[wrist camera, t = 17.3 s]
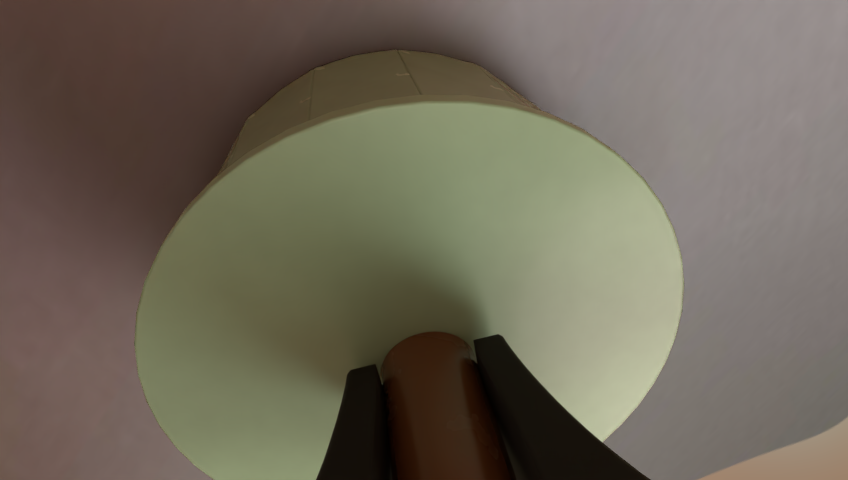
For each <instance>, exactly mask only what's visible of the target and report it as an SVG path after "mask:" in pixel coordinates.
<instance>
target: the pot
mask: <svg viewBox="0 0 848 480" xmlns="http://www.w3.org/2000/svg"><path fill="white" fill-rule="evenodd" d="M414 95H469V96H476V97H483V98H490V99H497V100H504V101H510V102H513V103H517V104H520V105H523V106H527V107H530V108H534V109H537V110H540V109H539V108H538V107H537V106H536V105H534V104H533V103H532V102H530V101H529V100H527V99H526V98H525V97H523V96H522V95H520V94H519V93H517V92H516V91H515V90H513V89H512V88H510V87H509V86H508V85H507V84H506V83H504V82H503V81H501V80H500V79H498V78H496V77H495V76H494V75H492V74H491V73H489V72H488V71H486V70H485V69H484V68H482V67H481V66H479V65H476V64H474V63H469V62H464V61H461V60H458V59H454V58H450V57H446V56H443V55H439V54H434V53H426V52H417V51H404V50H395V49H394V50H390V51H380V52H373V53H367V54H361V55H355V56H351V57H348V58H345V59H342V60H338V61H335V62H332V63H329V64H326V65H324V66H321V67H317V68H315V69H314V70H311V71H309V72H308V73H307V74H305V75H303V76H301V77H300V78H298V79H297V80H295V81H294V82H292V83H290V84H289V85H287V86H286V87H284V88H283V89H281V90H280V91H279V92H278V93H276V94H275V95H274V96H273V97H272V98H271V99H270V100H268V101H267V102H266V103H265V104H264V105H263V106H262V107H261V108H260V109H259V110H257V111H256V112H255V113H253V114H252V115H251V116H249V118H248V119H247V120H246V121H245V123H244V125H243V127H242V129H241V131H240V133H239V135H238V137H237V139H236V141H235V142H234V144H233V146H232V148H231V150H230V152H229V154H228V156H227V158H226V160H225V162H224V164H223V165H222V167H221V169H220V171H219V173H218V175H219V174H220V173H222V172H223V171H224V170H225V169H227V168H228V167H229V166H231V165H232V164H233V163H234V162H236V161H237V160H238V159H240V158H241V157H242V156H243V155H245V154H246V153H247V152H249V151H250V150H252V149H254V148H256V147H257V146H259V145H261V144H263V143H264V142H266V141H268V140H270V139H271V138H273V137H275V136H277V135H278V134H280V133H282V132H284V131H285V130H287V129H290V128H292V127H294V126H297V125H299V124H302V123H304V122H307V121H309V120H312V119H314V118H317V117H319V116H322V115H324V114H326V113H329V112H332V111H336V110H340V109H344V108H348V107H351V106H355V105H359V104H363V103H367V102H371V101H375V100H382V99H390V98H398V97H406V96H414ZM540 111H541V110H540ZM218 175H217V176H218Z"/></svg>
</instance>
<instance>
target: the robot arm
mask: <svg viewBox="0 0 848 480" xmlns="http://www.w3.org/2000/svg"><path fill="white" fill-rule="evenodd" d="M473 341H474V347H475V353H476V359H477V364H478V367H479V370H480V373H481V376H482V379H483V382H484V385H485V388H486V391H487V394H488V397H489V399H490V402H491V405H492V408H493V411H494V414H495V416H496V419H497V422H498V425H499V428H500V431H501V434H502V437H503V440H504V443H505V446H506V449H507V452H508V455H509V458H510V461H511V464H512V467H513V470H514V473H515V476H516V479H517V480H650V479H649V478H647V477H646V476H644V475H643V474H642V473H640V472H639V471H638V470H636V469H635V468H634V467H632V466H631V465H630V464H629V463H627V462H626V461H625V460H623V459H622V458H621V457H619V456H618V455H617V454H616V453H615V452H613V451H612V450H611V449H610V448H608V447H607V446H606V445H605V444H604V443H602V442H601V441H600V440H599V439H598V438H596V437H595V436H594V435H593V434H592V433H591V432H590V431H588V430H587V429H586V428H585V427H584V426H583V425H582V424H581V423H580V422H579V421H578V420H576V419H575V418H574V417H573V416H572V415H571V414H570V413H569V412H568V411H567V410H566V409H565V408H564V407H563V406H562V405H561V404H560V403H559V402H558V401H557V400H556V399H555V398H554V397H553V396H552V395H551V394H550V393H549V392H548V391H547V390H546V389H545V388H544V387H543V385H542V384H541V383H540V382H539V381H538V380H537V379H536V378H535V377H534V376H533V375H532V373H531V372H530V371H529V370H528V369H527V368H526V366H525V365H524V364H523V363H522V362H521V360H520V359H519V358H518V357H517V355H516V354H515V353H514V351H513V350H512V349H511V347H510V346H509V345H508V343H507V342H506V340H505V339H504V337H503V336H501V335H499V334H496V335H492V336H488V337H484V338H480V339H476V340H473ZM316 480H392V472H391V463H390V454H389V446H388V436H387V424H386V414H385V405H384V396H383V387H382V382H381V379H380V376H379V373H378V370H377V367H376V364H373V365H369V366H364V367H360V368H356V369H352V370H350V371H349V373H348V374H347V378H346V384H345V388H344V393H343V397H342V402H341V405H340V409H339V413H338V416H337V420H336V424H335V427H334V430H333V433H332V436H331V439H330V442H329V446H328V449H327V452H326V455H325V457H324V460H323V463H322V465H321V468H320V471H319V473H318V476H317V479H316Z"/></svg>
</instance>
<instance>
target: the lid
mask: <svg viewBox="0 0 848 480" xmlns="http://www.w3.org/2000/svg"><path fill="white" fill-rule="evenodd" d="M683 291H684V278H683V267H682V257H681V253H680V249H679V246H678V242H677V238H676V235H675V231H674V228H673V226H672V224H671V222H670V220H669V218H668V216H667V213H666V211H665V209H664V207H663V205H662V203H661V202H660V200H659V199H658V198H657V196H656V195H655V193H654V192H653V191H652V189H651V188H650V187H649V185H648V184H647V182H646V181H645V180H644V178H643V177H642V176H641V175H640V174H639V173H638V172H637V171H635V170H634V169H633V168H632V167H631V166H630V165H629V164H628V163H627V162H626V161H625V160H624V159H623V158H622V157H621V156H620V155H619V154H617V153H616V152H615V151H614V150H612V149H611V148H610V147H608V146H607V145H605V144H604V143H602V142H601V141H599V140H598V139H596V138H595V137H594V136H592V135H591V134H589V133H588V132H586V131H585V130H583V129H582V128H579V127H577V126H575V125H573V124H571V123H569V122H567V121H564V120H562V119H560V118H558V117H556V116H554V115H552V114H549V113H547V112H544V111H540V110H537V109H534V108H530V107H527V106H523V105H520V104H517V103H513V102H510V101H504V100H497V99H490V98H483V97H476V96H469V95H414V96H406V97H398V98H390V99H382V100H375V101H371V102H367V103H363V104H359V105H355V106H351V107H348V108H344V109H340V110H336V111H332V112H329V113H326V114H324V115H322V116H319V117H317V118H314V119H312V120H309V121H307V122H304V123H302V124H299V125H297V126H294V127H292V128H290V129H287V130H285V131H284V132H282V133H280V134H278V135H277V136H275V137H273V138H271V139H270V140H268V141H266V142H264V143H263V144H261V145H259V146H257V147H256V148H254V149H252V150H250V151H249V152H247V153H246V154H245V155H243V156H242V157H241V158H240V159H238V160H237V161H236V162H234V163H233V164H232V165H231V166H229V167H228V168H227V169H225V170H224V171H223V172H222V173H220V174H219V175H218V176H216V177H215V178H214V179H213V180H212V181H211V182H210V183H209V184H208V185H207V186H206V187H205V188H204V189H203V190H202V192H201V193H200V194H199V195H198V196H197V197H196V198H195V199H194V200H193V201H192V202H191V203H190V204H189V205H188V206H187V207H186V209H185V210H184V212H183V213H182V214H181V216H180V217H179V219H178V220H177V222H176V223H175V225H174V226H173V227H172V229H171V230H170V232H169V233H168V235H167V236H166V238H165V239H164V241H163V243H162V245H161V247H160V249H159V251H158V253H157V255H156V258H155V260H154V262H153V264H152V266H151V268H150V270H149V273H148V275H147V277H146V279H145V282H144V286H143V289H142V293H141V297H140V301H139V305H138V309H137V312H136V326H135V341H134V346H135V354H136V362H137V370H138V376H139V379H140V382H141V385H142V388H143V391H144V394H145V398H146V401H147V403H148V405H149V407H150V409H151V410H152V412H153V414H154V416H155V418H156V420H157V422H158V424H159V426H160V427H161V428H162V430H163V431H164V432H165V434H166V435H167V436H168V437H169V439H170V440H171V441H172V443H173V444H174V445H175V447H176V448H177V449H178V450H179V451H180V452H181V453H182V454H183V455H184V456H185V457H186V458H187V459H189V460H190V461H191V462H192V463H193V464H194V465H195V466H196V467H197V468H198V469H200V470H201V471H203V472H204V473H205V474H207V475H208V476H209V477H211V478H212V479H214V480H316V479H317V476H318V473H319V471H320V468H321V465H322V463H323V460H324V457H325V455H326V452H327V449H328V446H329V442H330V439H331V436H332V433H333V430H334V427H335V424H336V420H337V416H338V413H339V409H340V405H341V402H342V397H343V393H344V388H345V384H346V378H347V374H348V373H349V371H350V370H352V369H356V368H360V367H364V366H369V365H373V364H376V367H377V370H378V373H379V376H380V379H381V382H382V387H383V396H384V405H385V414H386V424H387V436H388V446H389V454H390V463H391V472H392V480H517V479H516V476H515V473H514V470H513V467H512V464H511V461H510V458H509V455H508V452H507V449H506V446H505V443H504V440H503V437H502V434H501V431H500V428H499V425H498V422H497V419H496V416H495V414H494V411H493V408H492V405H491V402H490V399H489V397H488V394H487V391H486V388H485V385H484V382H483V379H482V376H481V373H480V370H479V367H478V364H477V359H476V353H475V347H474V341H473V340H476V339H480V338H484V337H488V336H492V335H496V334H499V335H501V336H503V337H504V339H505V340H506V342H507V343H508V345H509V346H510V347H511V349H512V350H513V351H514V353H515V354H516V355H517V357H518V358H519V359H520V360H521V362H522V363H523V364H524V365H525V366H526V368H527V369H528V370H529V371H530V372H531V373H532V375H533V376H534V377H535V378H536V379H537V380H538V381H539V382H540V383H541V384H542V385H543V387H544V388H545V389H546V390H547V391H548V392H549V393H550V394H551V395H552V396H553V397H554V398H555V399H556V400H557V401H558V402H559V403H560V404H561V405H562V406H563V407H564V408H565V409H566V410H567V411H568V412H569V413H570V414H571V415H572V416H573V417H574V418H575V419H576V420H578V421H579V422H580V423H581V424H582V425H583V426H584V427H585V428H586V429H587V430H588V431H590V432H591V433H592V434H593V435H594V436H595V437H596V438H598V439H599V440H600V441H601V442H603V441H604V440H605V439H606V438H607V437H608V436H609V435H611V434H612V433H613V432H614V431H615V430H616V429H617V428H618V427H619V426H620V425H621V424H622V423H623V422H624V421H625V420H626V419H627V417H628V416H629V415H630V414H631V413H632V412H633V411H634V409H635V408H636V407H637V406H638V405H639V404H640V402H641V401H642V399H643V398H644V397H645V395H646V394H647V392H648V391H649V389H650V388H651V387H652V385H653V384H654V382H655V380H656V379H657V377H658V375H659V373H660V371H661V369H662V368H663V366H664V364H665V362H666V360H667V358H668V355H669V353H670V350H671V347H672V345H673V342H674V340H675V337H676V334H677V330H678V325H679V321H680V317H681V313H682V304H683Z"/></svg>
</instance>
